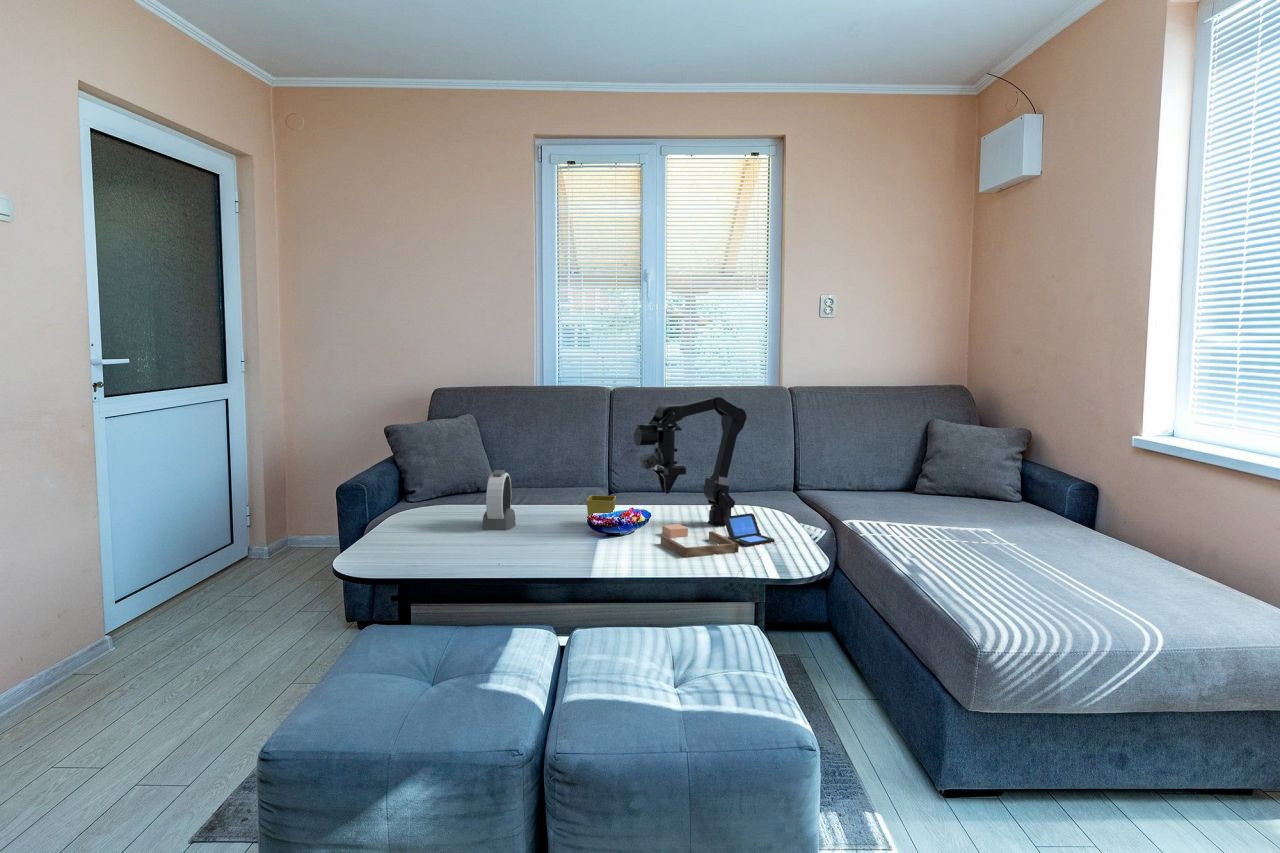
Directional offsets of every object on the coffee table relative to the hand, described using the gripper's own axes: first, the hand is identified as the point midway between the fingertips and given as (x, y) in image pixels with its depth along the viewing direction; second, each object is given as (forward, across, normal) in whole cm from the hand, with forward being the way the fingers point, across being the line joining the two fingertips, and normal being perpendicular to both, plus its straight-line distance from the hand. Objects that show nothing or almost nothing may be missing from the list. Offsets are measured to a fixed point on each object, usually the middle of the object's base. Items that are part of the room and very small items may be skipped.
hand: (665, 492), depth 251 cm
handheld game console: (+12, +22, +19) cm, 31 cm away
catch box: (+12, +24, 0) cm, 27 cm away
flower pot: (+12, -13, -17) cm, 25 cm away
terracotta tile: (+12, +8, 0) cm, 15 cm away
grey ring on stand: (+12, -22, -49) cm, 55 cm away
